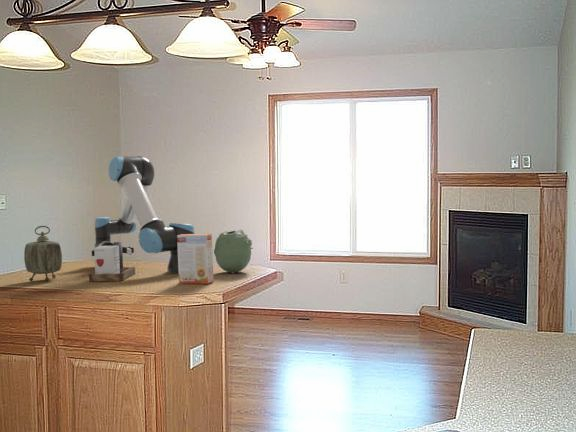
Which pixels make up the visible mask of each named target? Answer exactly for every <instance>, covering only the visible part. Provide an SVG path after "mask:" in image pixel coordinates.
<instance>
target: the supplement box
mask: <svg viewBox="0 0 576 432" xmlns="http://www.w3.org/2000/svg"><path fill="white" fill-rule="evenodd" d="M93 250H94V254H95V256H94V272H95V274H117V273H120V264H119V246H99V247H96V248H94V249H93Z"/></svg>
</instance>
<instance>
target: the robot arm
mask: <svg viewBox="0 0 576 432" xmlns="http://www.w3.org/2000/svg"><path fill="white" fill-rule="evenodd" d="M108 176H109V179H110V180H111V181H113V182H117V184H118V187H120V188H121V189H123V190H124V192H125V193H126V196H127V198H126V201H125V204H124V205H123V209H122V211H121V214H120V216H119V218H118V219H110V217H108V216H101V217H96V218H95V219H94V234H95V243H94V248H96V247H99V246H113V242H111V238H112V237H111V235H121V234H131V233H135V231H136V230H137V222H136V221H135V220H136V218H137V220H138V223H139V224H140V226H141V227H140V229H139V232H138V239H139V240H138V243H139V246H140V247H141V249H142V250H143V251H144V252H146V253H147V254H159V253H165V252H170V257H169V259H168V264H167V268H166V270H167V273H169V274H179V272H178V247H177V235H181V234H196V233H195V227H194V224H192V223H178V222H177V223H175V222H174V223H173V222H169V224H168V226H166V225H165V222H164V220H162V219H160V218H159V217H158V215H157V214H156V211H155V209H154V206H153V205H152V202H151V200H150V198H149V197H148V194H147V190H148V188H149V187H150V186H152V184H153V181H154V179H155V168H154V165H153V163H152V162H151V161H150V160H149V159H148V158H146V157H144V156H142V155H139V156H122V155H120V156H114V157H113V158H112V159H111V160H110V162H109V165H108ZM134 252H135V249H134V247H131V246H128V247H125V246H122V253H123V254H127V255H130V256H132V254H133V253H134ZM91 256H92V257H95V254H94V249H93V250H91Z"/></svg>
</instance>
